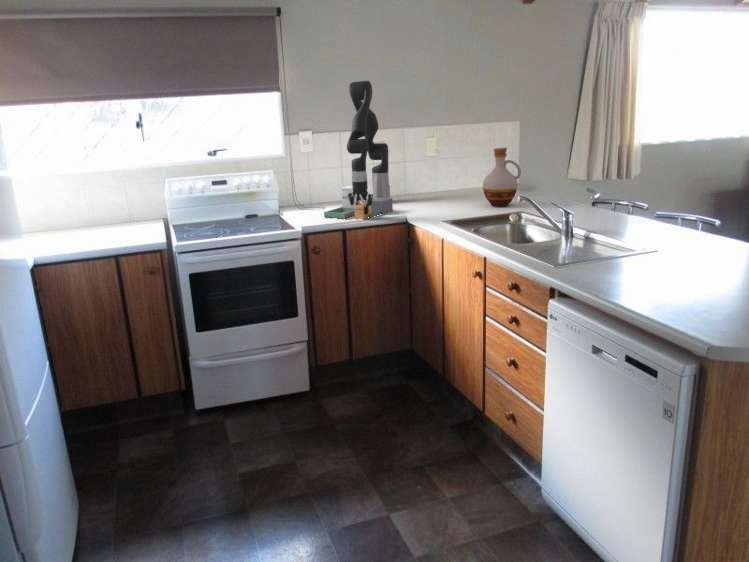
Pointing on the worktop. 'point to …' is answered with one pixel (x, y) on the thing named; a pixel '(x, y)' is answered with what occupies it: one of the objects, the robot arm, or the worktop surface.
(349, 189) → the supplement box
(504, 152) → the jug
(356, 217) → the toner caddy
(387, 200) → the printer bay
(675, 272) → the worktop surface
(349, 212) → the tray
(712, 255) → the worktop surface
